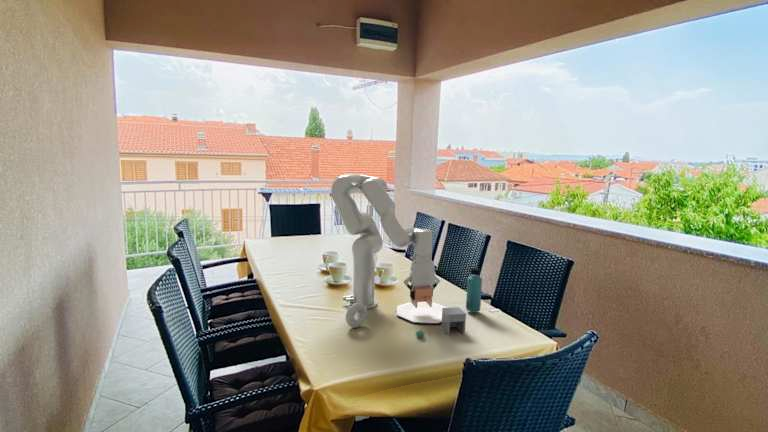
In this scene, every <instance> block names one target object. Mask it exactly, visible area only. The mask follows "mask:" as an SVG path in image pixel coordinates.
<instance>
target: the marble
mask: <svg viewBox="0 0 768 432" xmlns="http://www.w3.org/2000/svg"><path fill="white" fill-rule="evenodd" d="M424 335H425V332H424V331H423V329H417V330H416V331H415V336H416V337H417V338H419V339H422V338H423V337H424Z"/></svg>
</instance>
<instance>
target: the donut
mask: <svg viewBox="0 0 768 432" xmlns="http://www.w3.org/2000/svg"><path fill="white" fill-rule="evenodd" d="M357 312H358V316H357V317H356V318H355V315H356V314H357ZM367 317H368V309H367V308H366V306H365V305H364V304H362V303H355V304H352V305H349V307H348V308H347V310H346V312H345V322H346V324H347V325H348V326H349V327H350V328H353V329H355V328H356V329H357V328H360V327H361V326H362V325H363V324H364V323H365V322H366V320H367Z"/></svg>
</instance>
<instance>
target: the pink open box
mask: <svg viewBox="0 0 768 432" xmlns="http://www.w3.org/2000/svg"><path fill="white" fill-rule="evenodd" d="M414 291H415V300H412V299H411V298H410V302H411V303H412V304H413V305H414V306H415V308H417V302H426V303H427V304H428V305H429V306H430V307H432V302H433V297H432V288H431V287H430V286H416V287H415V289H414Z"/></svg>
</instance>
